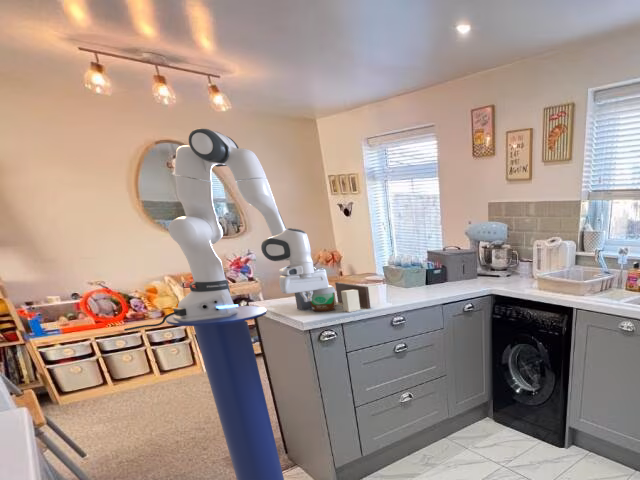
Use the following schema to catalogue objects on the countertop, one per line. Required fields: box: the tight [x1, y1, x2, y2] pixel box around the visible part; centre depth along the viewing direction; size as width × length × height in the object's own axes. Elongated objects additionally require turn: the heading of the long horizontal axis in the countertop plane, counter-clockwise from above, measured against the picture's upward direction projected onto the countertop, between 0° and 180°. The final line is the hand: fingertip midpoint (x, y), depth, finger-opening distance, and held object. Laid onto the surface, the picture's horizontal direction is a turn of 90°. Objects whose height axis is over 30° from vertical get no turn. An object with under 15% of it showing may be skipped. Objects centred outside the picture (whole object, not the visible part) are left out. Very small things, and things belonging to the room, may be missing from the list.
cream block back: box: [328, 285, 337, 306], centre depth 197 cm, size 6×4×9 cm, turn 144°
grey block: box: [294, 291, 312, 311], centre depth 189 cm, size 6×4×9 cm, turn 144°
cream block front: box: [341, 289, 361, 313], centre depth 187 cm, size 6×4×9 cm, turn 144°
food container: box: [306, 286, 337, 313], centre depth 186 cm, size 12×6×10 cm, turn 118°
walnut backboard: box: [334, 281, 371, 310], centre depth 198 cm, size 2×24×10 cm, turn 54°
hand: (308, 301), depth 181 cm, fingers closed
